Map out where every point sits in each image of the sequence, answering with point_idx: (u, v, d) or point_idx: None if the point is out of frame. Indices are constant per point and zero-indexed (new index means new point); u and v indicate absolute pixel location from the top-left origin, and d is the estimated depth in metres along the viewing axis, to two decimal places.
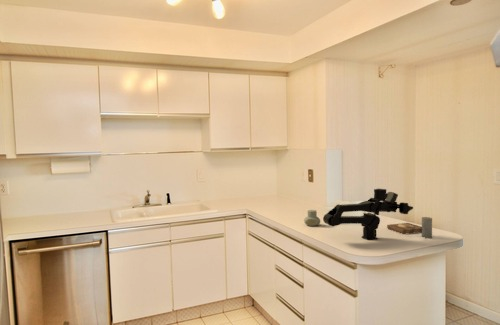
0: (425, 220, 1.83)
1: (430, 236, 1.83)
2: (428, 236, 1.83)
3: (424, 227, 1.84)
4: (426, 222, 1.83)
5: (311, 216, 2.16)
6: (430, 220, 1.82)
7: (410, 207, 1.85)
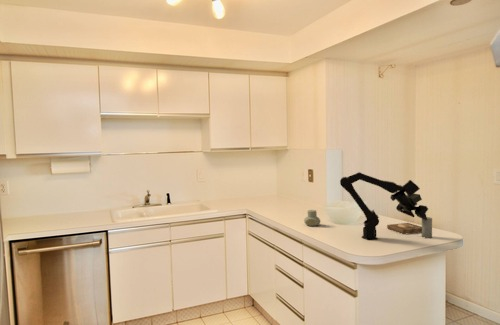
0: (425, 220, 1.83)
1: (430, 236, 1.83)
2: (428, 236, 1.83)
3: (424, 227, 1.84)
4: (426, 222, 1.83)
5: (311, 216, 2.16)
6: (430, 220, 1.82)
7: (425, 216, 1.78)
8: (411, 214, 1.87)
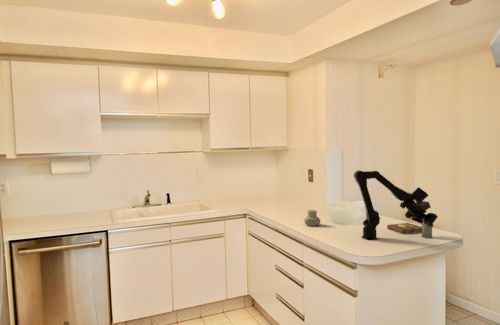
0: None
1: (430, 236, 1.83)
2: (428, 236, 1.83)
3: (424, 227, 1.84)
4: None
5: (311, 216, 2.16)
6: None
7: (431, 223, 1.81)
8: None
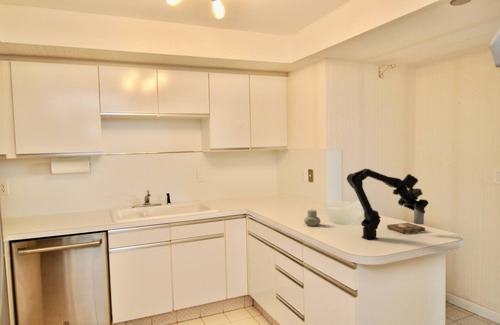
0: None
1: (422, 222, 1.88)
2: (420, 222, 1.88)
3: (416, 213, 1.89)
4: None
5: (311, 216, 2.16)
6: None
7: (423, 210, 1.87)
8: None
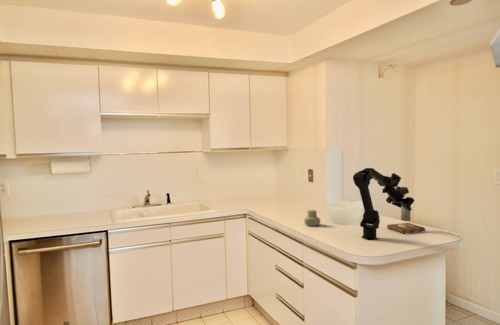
0: None
1: (408, 219, 1.98)
2: (406, 219, 1.98)
3: (403, 211, 1.99)
4: None
5: (311, 216, 2.16)
6: None
7: (409, 207, 1.97)
8: None
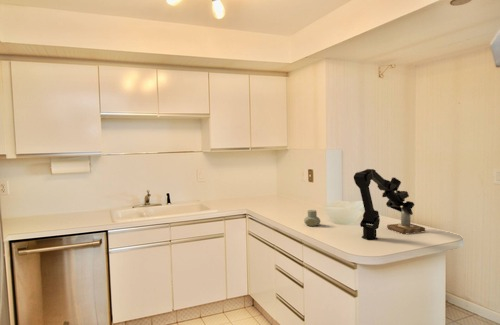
0: None
1: (408, 224, 1.99)
2: (406, 224, 1.99)
3: (403, 216, 2.00)
4: None
5: (311, 216, 2.16)
6: None
7: (411, 211, 1.96)
8: (400, 210, 2.04)
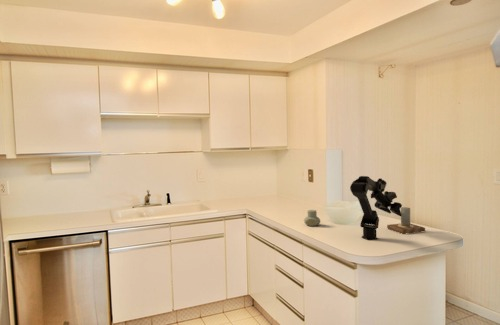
0: (404, 210, 1.99)
1: (408, 224, 1.99)
2: (406, 224, 1.98)
3: (403, 216, 2.00)
4: (404, 212, 1.99)
5: (311, 216, 2.16)
6: (408, 210, 1.98)
7: (400, 213, 1.93)
8: (388, 211, 2.03)
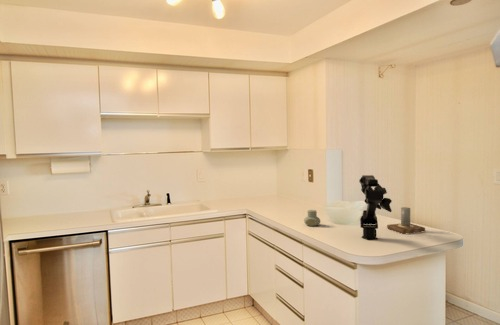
0: (404, 210, 1.99)
1: (408, 224, 1.99)
2: (406, 224, 1.98)
3: (403, 216, 2.00)
4: (405, 212, 1.99)
5: (311, 216, 2.16)
6: (408, 210, 1.98)
7: (389, 208, 1.91)
8: (378, 206, 2.01)
